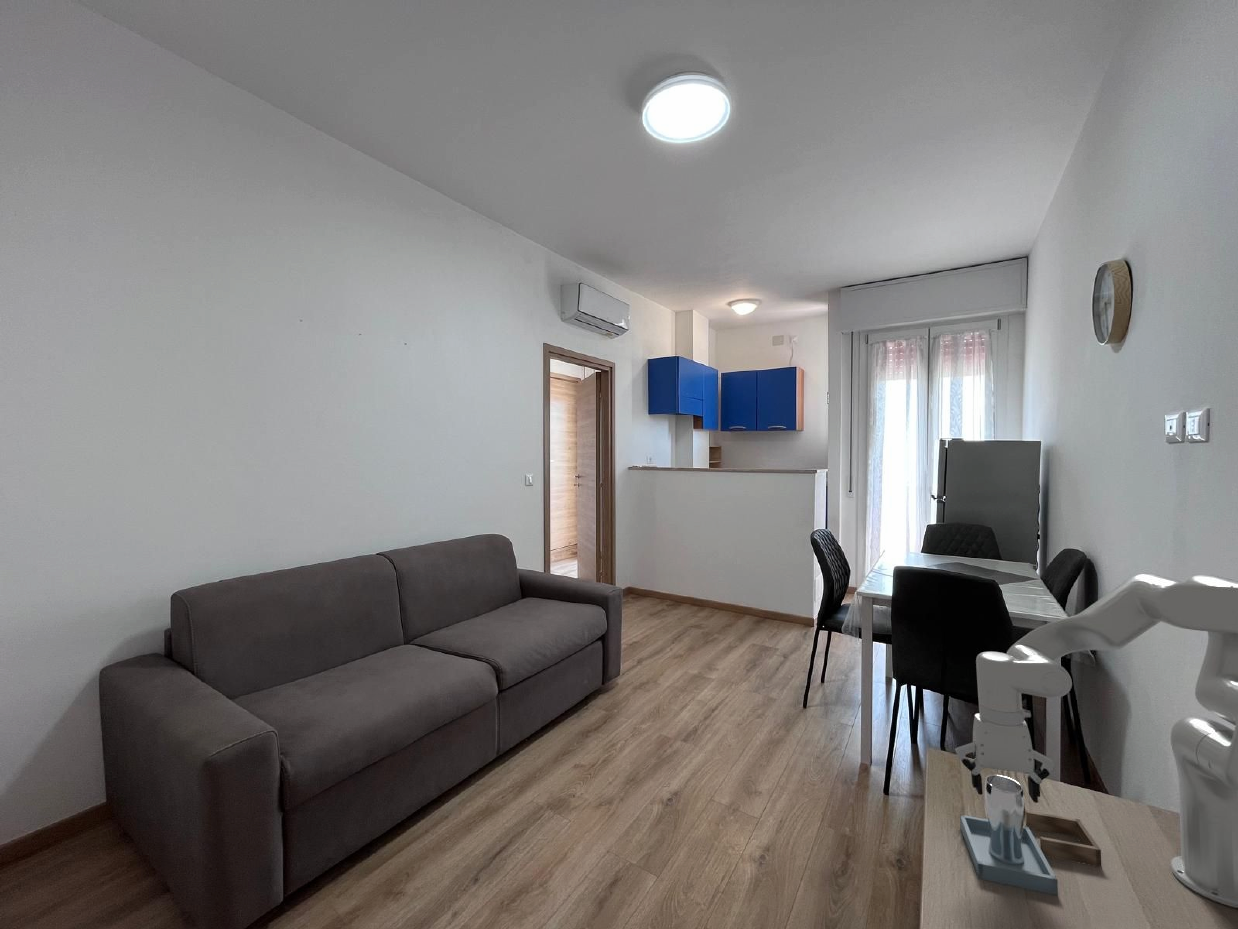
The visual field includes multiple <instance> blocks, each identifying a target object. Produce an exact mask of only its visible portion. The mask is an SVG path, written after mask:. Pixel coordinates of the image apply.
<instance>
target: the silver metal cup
mask: <svg viewBox="0 0 1238 929" xmlns="http://www.w3.org/2000/svg"><path fill="white" fill-rule="evenodd" d="M984 780H985V783H984V807H985V813H986V817H987V819H988V822H989V826H990V842H989V852H990V853H991V854H992V855H993V856H994V857H995V858H997V859H998V860H1000V861H1002V862H1004V863H1007V864H1012V865H1020V864H1022V863H1023V862H1024V856H1023V852H1022V847H1021V837H1022V832H1023V827H1024V826H1025V822H1026V818H1025V810H1026V801H1025V794H1024V787H1023V786H1022V783H1020V782H1018V781H1017V780H1015V779H1013V778H1011V777H1008V776H1005V775H999V774H988V775H986V776H985V778H984Z"/></svg>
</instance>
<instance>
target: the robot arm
mask: <svg viewBox="0 0 1238 929" xmlns="http://www.w3.org/2000/svg"><path fill="white" fill-rule="evenodd" d="M1160 622H1162V623H1165V624H1167V625H1170V626H1172V627H1175V628H1180V629H1185V630H1189V631H1190V630H1191V631H1200V632H1201V631H1202V632H1207V636H1208V638H1207V640H1208V641H1207V646H1206V651H1205V655H1204V658H1203V660H1202V664H1201V667H1200V670H1199V674H1198V677H1197V681H1196V684H1195V690H1194V695H1195V699H1196V700H1197V702H1198V703H1199V704H1200V705H1201V706H1202V707H1203V708H1204V709H1205V710H1206V711H1208V712H1210V713H1212V714H1213V715H1215V716H1217V717H1219V718H1221V719H1222V720H1224V721H1226V722H1228V723H1229V724H1231V725H1233V726H1234V730H1233V729H1231V728H1230V727H1228V726H1226V725H1224V724H1223V723H1221V722H1218V721H1215V720H1213V719H1209V718H1207V717H1202V716H1187V717H1183V718H1181V719H1178V720H1177V721H1176V723H1175V724H1174V725H1173V726H1172V728H1171V731H1170V744H1171V749H1172V754H1173V757H1174V759H1175V760H1174V761H1175V765H1176V768H1177V769H1176V770H1177V778H1178V800H1179V805H1178V806H1179V828H1180V831H1179V832H1180V834H1179V835H1180V852H1181V853H1180V856H1175V857H1173V858H1172V859H1171V860H1170V868H1171V872H1172V874H1173V875H1174V877H1176V878H1177V879H1178V880H1179V881H1180V882H1181V883H1182V884H1184V885H1185V886H1186V887H1188V888H1189V889H1190V890H1192V891H1193V892H1196V893H1198V894H1199V895H1201V896H1203V897H1205V898H1207V899H1210V900H1211V901H1214V902H1217V903H1219V904H1222V905H1225V906H1228V907H1232V908H1234V909H1235V908H1236V909H1238V580H1235V579H1231V578H1227V577H1223V576H1219V575H1217V576H1216V575H1213V574H1211V575H1209V574H1198V575H1193V576H1191V577H1189V578H1188V579H1187V580H1185V581H1181V580H1177V579H1173V578H1171V577H1166V576H1162V575H1158V574H1153V573H1139V574H1136V575H1133V576H1132V577H1129V578H1128V579H1126V580H1125V581H1123V582H1122V583H1121V584H1119V585H1118V586H1116V587H1115V588H1113V589H1112V590H1110V591H1109V592H1108V593H1107V594H1105V595H1104V596H1102V597H1101V598H1100V599H1098V600H1096V601H1095V602H1094V603H1092V604H1091V605H1089V606H1088V607H1087V608H1085V609H1084V610H1081V612H1079V613H1077V614H1075V615H1071V616H1068V617H1064V618H1062V619H1057V620H1055V621H1052V622H1049V623H1046V624H1043V625H1041V626H1038V627H1037V628H1035V629H1033V630H1031V631H1029V632H1028V633H1027V634H1026V635H1023V637H1022V638H1020V639H1018V640H1017V641H1016V642H1015V643H1014V644H1012V645H1011V646H1010V647H1009V648H1008V649H1007V651H1006V653H1004V652H999V651H983V652H980V653H979V654H977V656H976V658H975V659H976V660H975V664H976V666H975V668H976V681H977V682H976V683H977V684H976V685H977V697H978V698H977V699H978V711H979V713H975V714H974V719H973V725H972V742H970V743H967V744H963V745H959V746H958V747H956V748H955V749H954V751H955V752H956V754H957V757H958V759H960V761H961V763H962V765H963V766H964V767H965V768H967V769H968V771H970V772H971V785H972V787H973V788H975V790H976V792H977V794H978V795H980V796H981V795H983V779H982V775H981V773H982V771H983V770H984V769H985V768H986V769H990V770H997V771H1005V772H1012V773H1013V772H1015V773H1020V774H1027V790H1028V792H1027V793H1028V796H1029V797H1030V799H1031V800H1032V802H1034V803H1037V804H1038V803H1039V800H1038V799H1039V798H1040V797H1041V784H1042V783H1043V780H1044V779H1046V778H1048V777H1049V776H1050V773H1051V771H1052V770H1053V769H1054V767H1055V763H1054V761H1053V760H1052V759H1051V758H1049V757H1048V756H1046V755H1044V754H1042V753H1040V752H1038V751H1036V750H1034V749H1033V744H1032V738H1031V734H1030V730H1029V728H1028V723H1027V722H1026V721H1025V718H1026V719H1027V718H1031V717H1032V714H1031V710H1028V709H1025V708H1023V704H1022V703H1023V701H1022V694H1025V695H1026V694H1027V695H1030V696H1037V697H1039V698H1041V697H1042V698H1047V699H1048V698H1050V699H1054V698H1056V699H1057V698H1061V697H1064V696H1066V695H1068V693H1069V692H1070V691H1071V689H1072V687H1073V682H1072V678H1071V677H1072V676H1070V674H1069V672H1068V671H1067V670H1066V669H1065V667H1063V666H1062V665H1060V664H1059V663H1058V662H1056V661H1057V660H1059V659H1060V658H1062V657H1064V656H1065V655H1068V654H1071V653H1075V652H1080V651H1081V652H1082V651H1116V650H1120V649H1123V648H1124V647H1125V646H1127V645H1129V644H1130V643H1132V642H1133V641H1135V640H1136V639H1137V638H1139V637H1140V636H1141V635H1143V634H1144V633H1146V632H1147V631H1148V630H1150V629H1152V628H1153V627H1155V626H1156V625H1158V624H1159V623H1160ZM971 753H973V756H974V757H975V758H973V760H971V761H970V759H969V758H967V757H966V755H968V754H971ZM1035 760H1036V761H1038V762H1040V763H1041V766H1039V767H1038V768H1037V769H1035V768H1036V767H1035Z"/></svg>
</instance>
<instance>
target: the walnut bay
mask: <svg viewBox="0 0 1238 929" xmlns="http://www.w3.org/2000/svg"><path fill="white" fill-rule="evenodd" d="M1025 826H1026V827H1029V829H1030V830H1036V831H1042V832H1047V833H1053V834H1058V835H1063V836H1064V835H1065V836H1069V835H1070V837H1074V836H1076V837H1075V838H1077V839H1078V841H1079V840H1080V841H1079V842H1080V843H1076V842H1071V841H1066V840H1061V839H1055V838H1050V837H1044V836H1040V837H1039V841H1040V842H1039V844H1040V845H1039V847H1040V849H1041V851H1042V853H1043V854H1044V856H1045V857H1048V858H1054V859H1058V860H1064V861H1068V862H1073V863H1077V862H1078V864H1082V863H1085V864H1084V865H1088V864H1089V865H1088V866H1093V865H1095V866H1094V867H1098V866H1101V867H1102V852H1101V851H1102V849H1101V848H1100V846H1098V844H1097V842H1096V841H1095V839H1094V838H1093V836H1092V835H1091V834H1090V832H1089V831H1088V830H1087V828H1086V827H1085V825H1084V824H1083V822H1082V821H1081V820H1080V819H1078V818H1072V817H1071V818H1070V817H1066V816H1060V815H1054V814H1048V813H1043V812H1037V811H1031V810H1026V809H1025ZM1081 843H1082V844H1081ZM1079 862H1080V863H1079Z"/></svg>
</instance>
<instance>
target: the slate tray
mask: <svg viewBox="0 0 1238 929" xmlns="http://www.w3.org/2000/svg"><path fill="white" fill-rule="evenodd" d="M959 826H960V831H961V833H962V836H963V840H964V842H965V845H966V847H967V850H968V853H969V856H970V858H971V861H972V864H973V866H974V869H975V873H976V875H977V878H978V879H980V880H986V881H990V882H995V883H999V884H1004V885H1009V886H1013V887H1017V888H1018V887H1019V888H1022V889H1025V890H1026V889H1027V890H1031V891H1036V892H1040V893H1045V894H1051V895H1054V896H1059V894H1058V893H1059V887H1058V882H1059V881H1058V878H1057V877H1056V874H1055V872H1054V871H1053V869H1052V867H1051V866H1050V864H1049V861H1048V859H1047V858H1046V856H1044V854H1043V853H1042V851H1041V849H1040V845H1039V844H1038V842H1037V840H1036V838H1035V836H1034V835H1033V832H1032V830H1031V829H1030V828H1029V827H1026V825H1024V827H1023V832H1022V837H1021V847H1022V852H1023V856H1024V862H1023V863H1022V864H1020V865H1012V864H1007V863H1004V862H1002V861H1000V860H998V859H997V858H995V857H994V856H993V855H992V854H991V853H990V852H989V842H990V826H989V822H988V818H980V817H975V816H970V815H965V814H959Z"/></svg>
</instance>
